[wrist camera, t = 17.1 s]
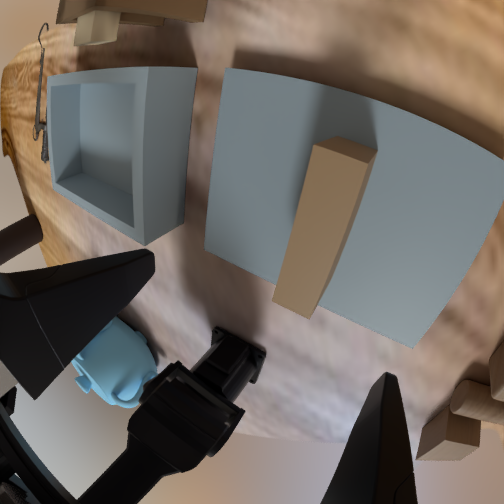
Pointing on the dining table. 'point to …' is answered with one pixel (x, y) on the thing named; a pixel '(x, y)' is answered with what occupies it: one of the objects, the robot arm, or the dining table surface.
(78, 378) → the decorative pot
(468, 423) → the wooden block set
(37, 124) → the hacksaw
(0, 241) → the bottle
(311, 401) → the dining table surface
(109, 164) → the toolbox
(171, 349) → the dining table surface
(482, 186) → the lid
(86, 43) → the wooden key
